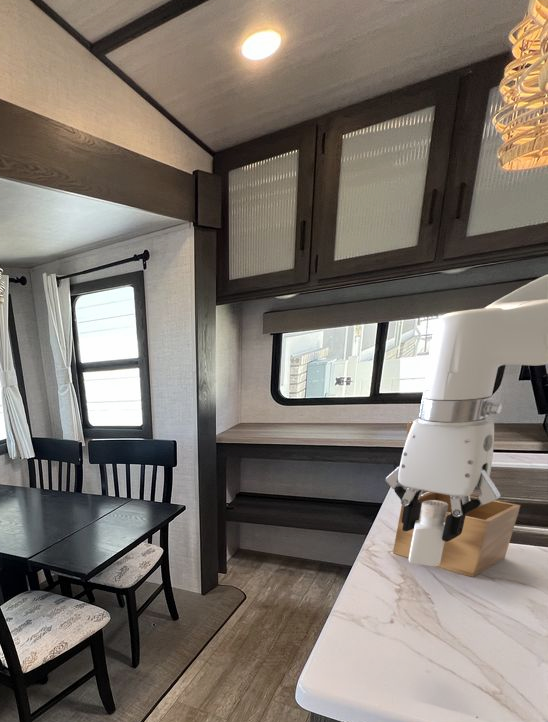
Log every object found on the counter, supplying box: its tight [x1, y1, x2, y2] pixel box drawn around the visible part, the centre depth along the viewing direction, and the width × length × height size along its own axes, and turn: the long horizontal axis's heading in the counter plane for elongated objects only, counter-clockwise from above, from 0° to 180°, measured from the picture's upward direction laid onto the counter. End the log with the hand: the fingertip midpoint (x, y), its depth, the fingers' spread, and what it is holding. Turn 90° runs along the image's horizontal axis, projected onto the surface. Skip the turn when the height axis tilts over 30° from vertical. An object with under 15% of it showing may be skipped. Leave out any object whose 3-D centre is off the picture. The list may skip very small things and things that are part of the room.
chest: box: [392, 492, 521, 578], centre depth 99 cm, size 16×14×12 cm
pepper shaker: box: [408, 500, 448, 567], centre depth 71 cm, size 4×4×10 cm
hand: (429, 532), depth 71 cm, fingers closed on pepper shaker, 4 cm apart
